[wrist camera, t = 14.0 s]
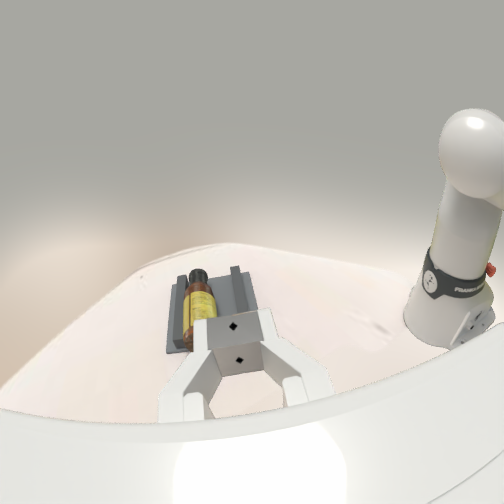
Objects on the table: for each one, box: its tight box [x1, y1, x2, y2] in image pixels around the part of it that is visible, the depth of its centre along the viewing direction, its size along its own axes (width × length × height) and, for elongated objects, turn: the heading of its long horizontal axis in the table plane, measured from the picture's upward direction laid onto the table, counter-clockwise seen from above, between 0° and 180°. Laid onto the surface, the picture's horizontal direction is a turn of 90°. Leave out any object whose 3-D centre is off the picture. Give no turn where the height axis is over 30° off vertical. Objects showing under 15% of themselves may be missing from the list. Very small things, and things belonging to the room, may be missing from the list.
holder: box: [166, 266, 258, 354], centre depth 56 cm, size 18×20×3 cm
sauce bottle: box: [183, 269, 217, 352], centre depth 53 cm, size 6×6×20 cm
